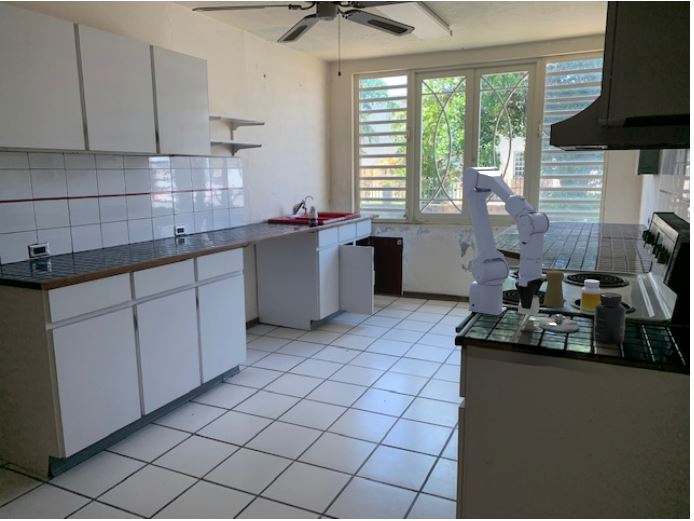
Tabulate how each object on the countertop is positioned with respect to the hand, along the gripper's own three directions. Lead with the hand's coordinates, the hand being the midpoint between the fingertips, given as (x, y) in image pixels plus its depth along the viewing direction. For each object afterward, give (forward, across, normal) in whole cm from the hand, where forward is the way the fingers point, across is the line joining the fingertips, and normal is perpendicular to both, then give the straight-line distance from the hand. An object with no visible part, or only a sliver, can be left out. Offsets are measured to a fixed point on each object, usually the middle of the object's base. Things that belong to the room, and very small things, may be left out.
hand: (528, 306), depth 137 cm
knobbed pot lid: (+6, +4, -7) cm, 10 cm away
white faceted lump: (+2, 0, 0) cm, 2 cm away
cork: (+6, +25, -1) cm, 26 cm away
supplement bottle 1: (+6, +22, -12) cm, 26 cm away
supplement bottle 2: (+6, -1, -20) cm, 21 cm away
